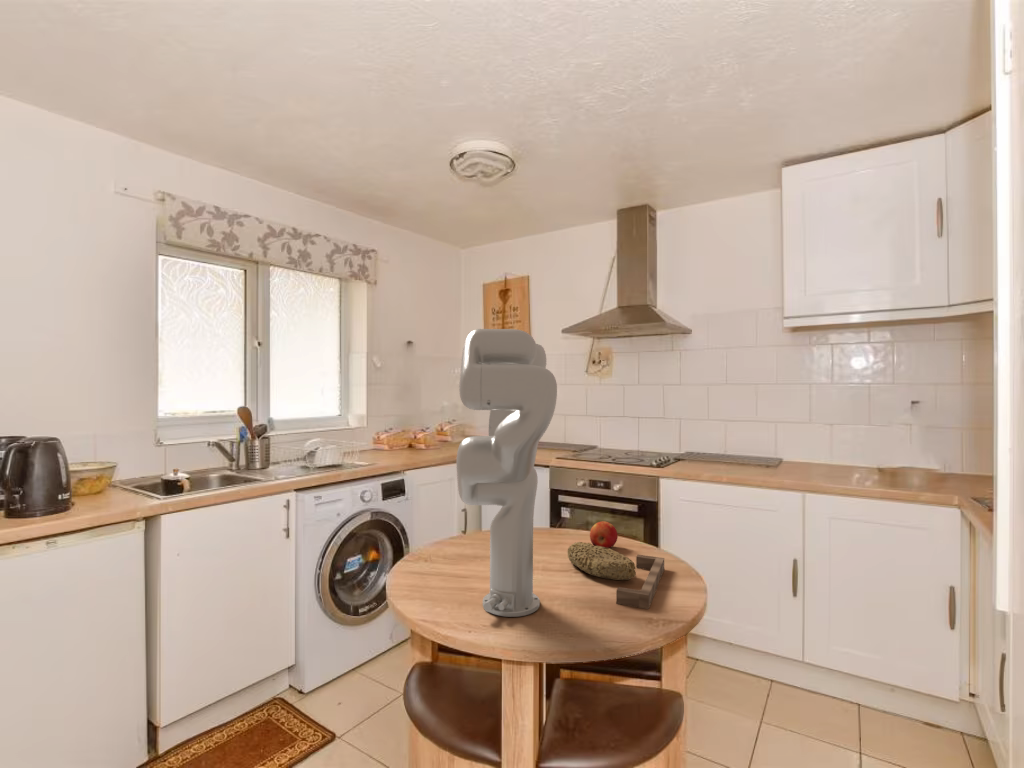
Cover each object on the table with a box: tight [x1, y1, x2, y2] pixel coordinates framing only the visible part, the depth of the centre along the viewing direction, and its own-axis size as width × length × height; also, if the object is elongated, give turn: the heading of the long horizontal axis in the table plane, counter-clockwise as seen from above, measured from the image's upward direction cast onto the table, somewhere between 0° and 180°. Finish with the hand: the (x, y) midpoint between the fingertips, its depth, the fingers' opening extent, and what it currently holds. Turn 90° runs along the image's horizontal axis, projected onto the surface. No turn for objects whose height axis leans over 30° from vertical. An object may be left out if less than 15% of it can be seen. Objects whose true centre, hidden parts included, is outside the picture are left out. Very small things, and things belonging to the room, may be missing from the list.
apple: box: [589, 520, 619, 549], centre depth 152 cm, size 8×8×8 cm
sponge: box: [566, 541, 637, 581], centre depth 132 cm, size 13×8×20 cm
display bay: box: [615, 554, 665, 610], centre depth 124 cm, size 27×7×3 cm, turn 156°
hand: (507, 466), depth 135 cm, fingers closed
